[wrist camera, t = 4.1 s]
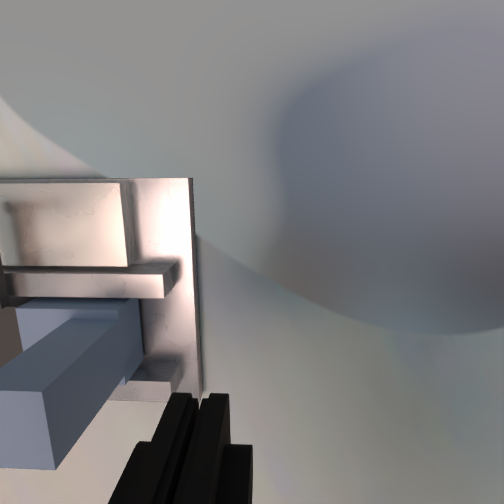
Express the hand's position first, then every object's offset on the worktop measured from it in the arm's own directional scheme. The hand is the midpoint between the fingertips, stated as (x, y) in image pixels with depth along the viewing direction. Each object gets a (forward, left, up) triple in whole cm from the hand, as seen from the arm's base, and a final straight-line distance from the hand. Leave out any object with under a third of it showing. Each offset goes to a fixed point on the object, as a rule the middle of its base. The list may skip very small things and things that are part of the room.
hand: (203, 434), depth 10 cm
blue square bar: (+8, +1, -8) cm, 11 cm away
